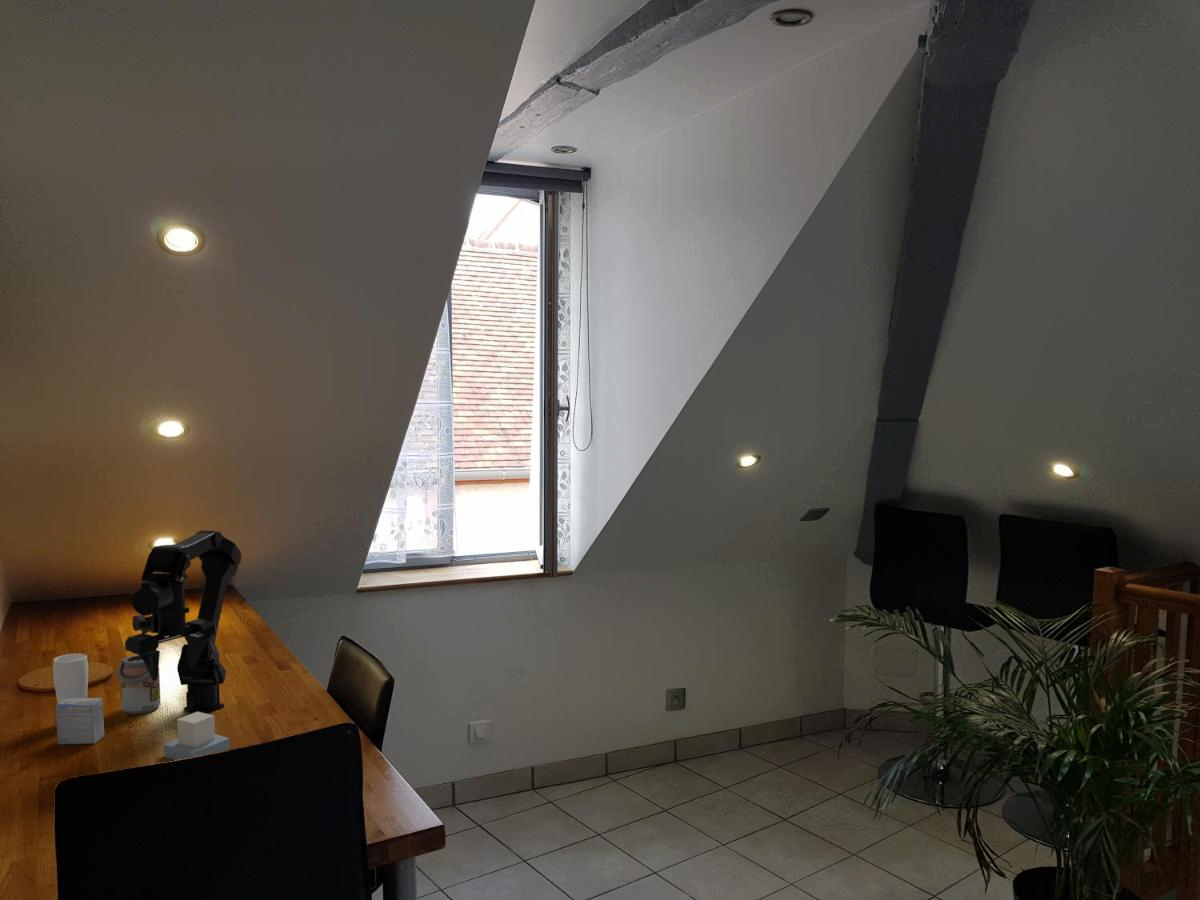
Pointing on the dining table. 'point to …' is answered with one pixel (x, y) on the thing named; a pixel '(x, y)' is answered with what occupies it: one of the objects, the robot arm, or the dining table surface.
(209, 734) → the cream cube
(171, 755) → the slate block
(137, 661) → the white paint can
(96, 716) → the medicine box
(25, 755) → the dining table surface
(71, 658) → the drinking glass
